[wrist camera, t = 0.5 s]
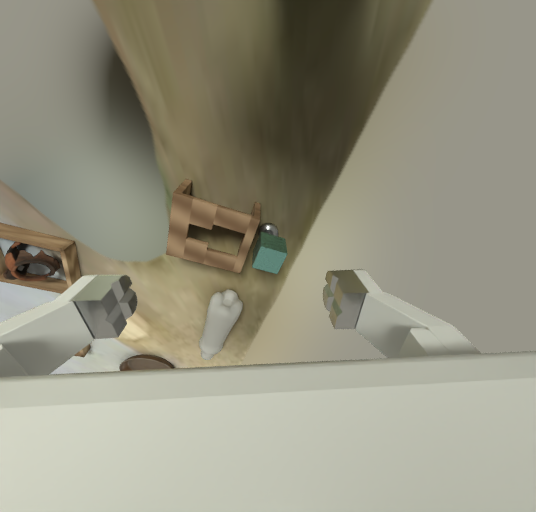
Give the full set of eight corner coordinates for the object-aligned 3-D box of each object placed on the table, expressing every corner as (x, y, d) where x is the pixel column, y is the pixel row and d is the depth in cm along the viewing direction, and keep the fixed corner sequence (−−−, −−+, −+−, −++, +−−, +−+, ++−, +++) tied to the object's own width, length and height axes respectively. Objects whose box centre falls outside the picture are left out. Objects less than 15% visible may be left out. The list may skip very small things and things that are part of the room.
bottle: (206, 290, 59) (189, 346, 76) (220, 318, 54) (199, 371, 71) (235, 283, 65) (214, 337, 82) (250, 308, 60) (224, 359, 77)
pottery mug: (25, 227, 51) (20, 252, 47) (71, 245, 59) (70, 268, 55) (-11, 258, 52) (-19, 285, 48) (39, 271, 60) (36, 295, 56)
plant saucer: (122, 372, 91) (118, 381, 88) (123, 346, 80) (118, 354, 77) (174, 380, 96) (171, 388, 93) (181, 356, 85) (179, 365, 82)
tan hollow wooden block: (186, 178, 45) (173, 192, 38) (260, 203, 48) (260, 220, 42) (177, 234, 52) (166, 254, 46) (242, 252, 56) (240, 273, 49)
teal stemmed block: (261, 218, 50) (260, 246, 41) (282, 225, 51) (287, 253, 42) (253, 237, 53) (252, 267, 44) (274, 243, 54) (277, 274, 45)
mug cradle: (-17, 218, 49) (-34, 226, 46) (74, 241, 53) (64, 249, 50) (5, 270, 58) (-8, 279, 55) (82, 286, 62) (74, 295, 59)
